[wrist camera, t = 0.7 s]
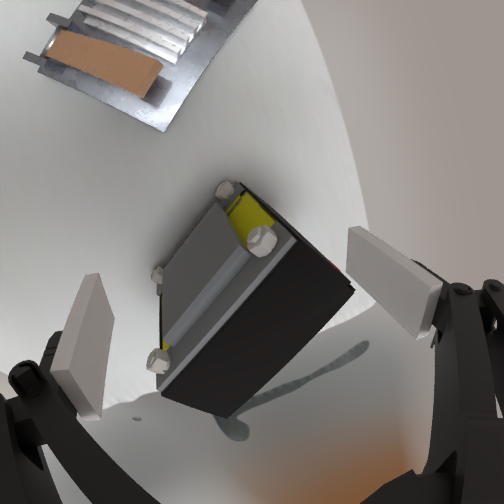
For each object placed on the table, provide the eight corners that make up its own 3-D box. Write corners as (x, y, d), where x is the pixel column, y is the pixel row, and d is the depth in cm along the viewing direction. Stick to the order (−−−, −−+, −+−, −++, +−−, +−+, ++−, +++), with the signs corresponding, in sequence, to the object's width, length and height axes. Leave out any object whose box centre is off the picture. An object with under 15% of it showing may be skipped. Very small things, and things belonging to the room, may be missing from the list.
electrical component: (227, 171, 38) (279, 221, 20) (284, 217, 42) (363, 292, 25) (146, 276, 41) (139, 386, 23) (205, 310, 45) (232, 420, 28)
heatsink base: (46, 74, 27) (14, 65, 19) (137, -49, 22) (132, -84, 14) (164, 131, 34) (162, 134, 26) (253, 5, 29) (276, -22, 21)
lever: (53, 59, 21) (45, 55, 20) (69, 33, 21) (61, 29, 19) (142, 98, 20) (134, 94, 19) (164, 65, 19) (157, 59, 18)
